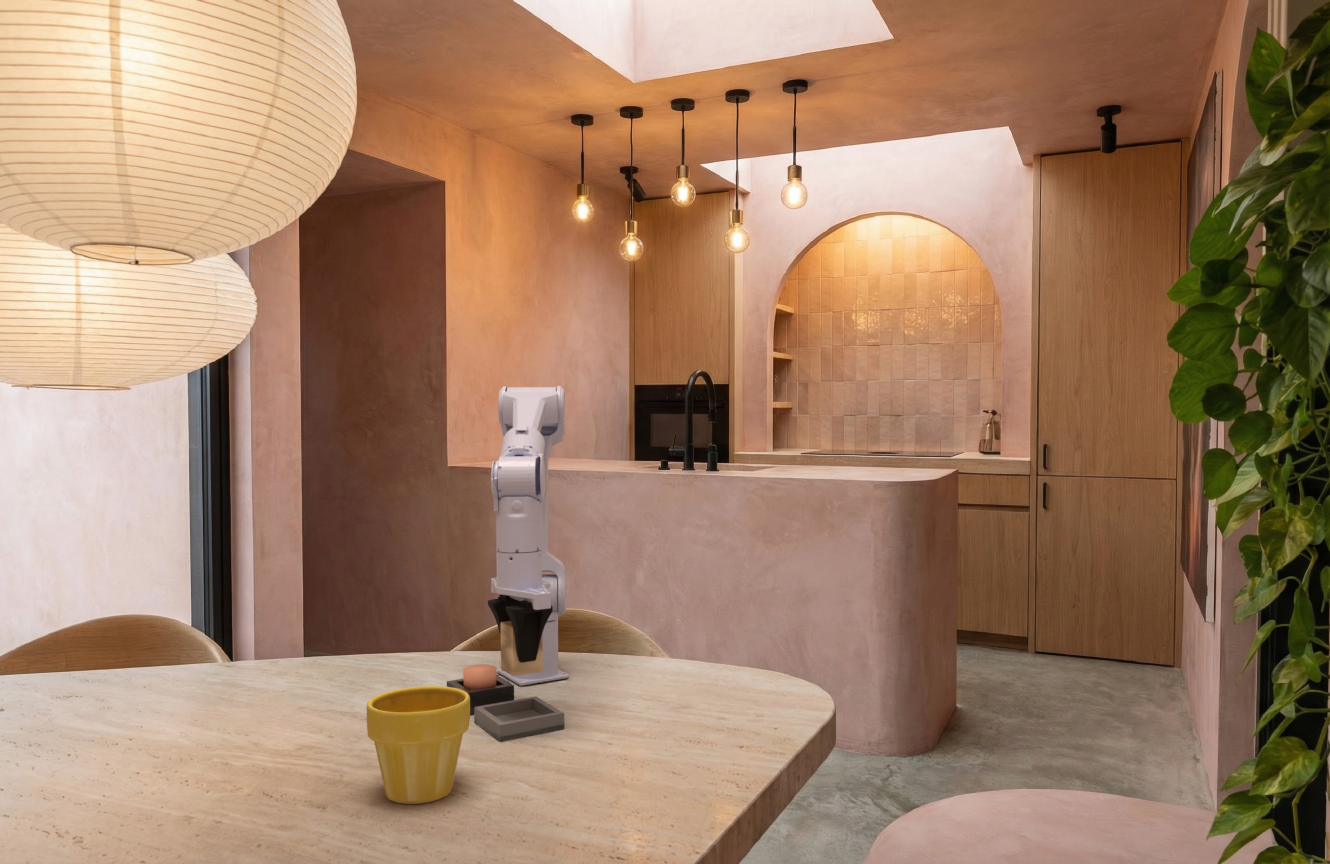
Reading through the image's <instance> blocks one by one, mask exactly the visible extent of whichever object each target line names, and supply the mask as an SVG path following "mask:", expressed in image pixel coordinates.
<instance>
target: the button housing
mask: <svg viewBox="0 0 1330 864" xmlns="http://www.w3.org/2000/svg"><path fill="white" fill-rule="evenodd" d="M446 687H452V688H457V689H460V690H463V691H465V692H467V693H468V695H469V696H470V716H473V715H474V707H478V706H484V705H489V704H495V703H501V702H506V701H512V700H515V685H514V684H512V683H511V682H510V681H507V680H506V679H504V678H503V677H501V676H500V675H498V674H496V686H493V687H487V688H481V689H475V690H467V689H466V688H464V678H459V679H452V680H447V681H446Z"/></svg>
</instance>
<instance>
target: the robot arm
mask: <svg viewBox="0 0 1330 864" xmlns="http://www.w3.org/2000/svg"><path fill="white" fill-rule="evenodd" d="M565 393H566V392H565V389H564V388H563V387H562V386H561V385H557V386H534V387H533V386H517V387H515V386H514V387H513V386H512V387H511V386H510V387H508V386H505V385H504V386H502V388H500V390H499V391H498V398H497V401H498V403H497V408H498V410H497V411H498V412H497V413H498V421H499V424H500V428H501V433H502V436H503V439H502V444H501V450H500V454H499V458H498V460H493V461H492V464H491V469H490V471H491V472H490V484H491V485H490V487H491V494H492V498H493V499H492V500H493V515H495V517H496V519H495V529H496V530H495V535H496V536H495V539H496V541H495V543H496V545H495V547H496V548H495V550H496V551H495V552H496V554H495V555H496V559H495V561H496V577H491V578H490V588H491V589H490V590H491V591H490V593H492V594H498V595H499V596H498V597H497V598H493V599H492V598H491V599H488V600H487V605H488V607H489V609H490V611H491V613H492V615H493V616H494V617H493V618H494V619H495V622H496V625H497V629H498V632H499V636H500V638H501V622H506V621H511V623H512V627H513V630H514V635H515V643H516V652H517V656H518V660H519V662H521V663H523V662H529V661H535V660H536V658H537V654H538V649H539V645H540V640H541V636H542V642H543V671H542V672H535V673H529V674H523V675H517V676H512V675H510V674H509V673H507V672H505V671H503V670H502V669H501V667H500V668H496V673H498V674H499V675H501V676H503V677H504V678H507V679H508V680H510V681H511V682H513V683H515V684H517V685H519V686H527V685H533V684H534V685H535V684H539V683H546V682H551V681H552V682H553V681H557V680H562V679H563V680H564V679H568V678H569V677H570V675H569V673H567V672H565V671H563V670H560V669H559V616H563V615H564V614H565V613H566V611H567V595H568V593H567V589H568V588H567V587H568V586H567V576H566V566H564V563H563V561H561V560H560V559H559V558H557V556H556V557H555V555H553V554H552V553H550V552H549V549H548V548H549V459H550V456H551V452H552V449H553V447H554V446H556V445H558V444H560V443H561V442H563V441H564V435H565V433H566V432H565V422H566V395H565ZM545 572H546V573H547V572H549V574H548V573H547V574H546V573H545ZM543 573H544V574H543ZM551 573H552V574H551Z"/></svg>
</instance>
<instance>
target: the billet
mask: <svg viewBox="0 0 1330 864" xmlns="http://www.w3.org/2000/svg"><path fill="white" fill-rule="evenodd" d="M500 668H501V669H502V670H503V671H505V672H507V673H509V674H510V675H512V676H517V675H523V674H529V673H535V672H542V671H543V642H542V636H541V640H540V645H539V649H538V654H537V658H536V660H535V661H529V662H523V663H521V662H519V660H518V656H517V652H516V643H515V635H514V630H513V627H512V623H511V621H506V622H501V637H500Z"/></svg>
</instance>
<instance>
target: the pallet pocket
mask: <svg viewBox="0 0 1330 864" xmlns="http://www.w3.org/2000/svg"><path fill="white" fill-rule="evenodd" d="M473 717H474V718H473V719H474V721H473V722H474V723H475V725H477V727H480V728H481V729H482V730H483V731H484V732H486V733H488V734H489V735H490V736H491V737H493V738H494V739H495V740H497V741H498V742H507V741H510V740H516V739H521V738H522V739H523V738H527V737H530V736H531V737H532V736H537V735H542V734H546V733H550V732H556V731H560V730H564V729H565V712H563V710H562V711H561V710H560V709H559V708H556V707H555V706H554V705H552V704H550V703H548V702H547V701H545V700H544V699H542V698H540V697H538V696H537V695H535V696H530V697H524V698H520V699H519V698H518V699H514V700H512V701H506V702H501V703H495V704H489V705H484V706H478V707H474V716H473Z"/></svg>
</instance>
